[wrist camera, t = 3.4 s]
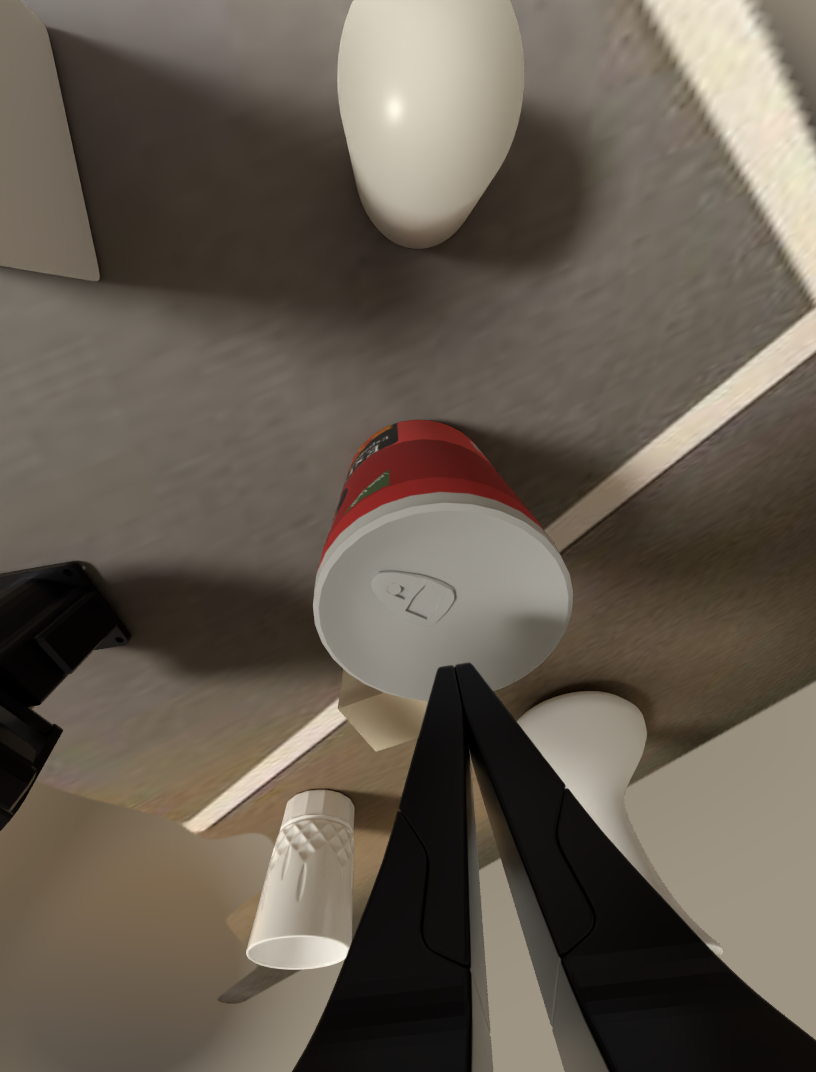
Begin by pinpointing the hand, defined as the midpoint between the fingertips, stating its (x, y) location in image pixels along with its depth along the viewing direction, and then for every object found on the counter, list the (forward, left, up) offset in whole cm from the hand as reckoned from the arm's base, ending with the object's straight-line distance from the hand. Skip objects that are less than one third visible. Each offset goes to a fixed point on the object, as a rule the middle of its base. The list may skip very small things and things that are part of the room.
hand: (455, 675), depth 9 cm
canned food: (0, 0, -13) cm, 13 cm away
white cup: (-15, -32, -13) cm, 38 cm away
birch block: (-4, -13, -13) cm, 19 cm away
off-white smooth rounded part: (+2, +13, -13) cm, 18 cm away
